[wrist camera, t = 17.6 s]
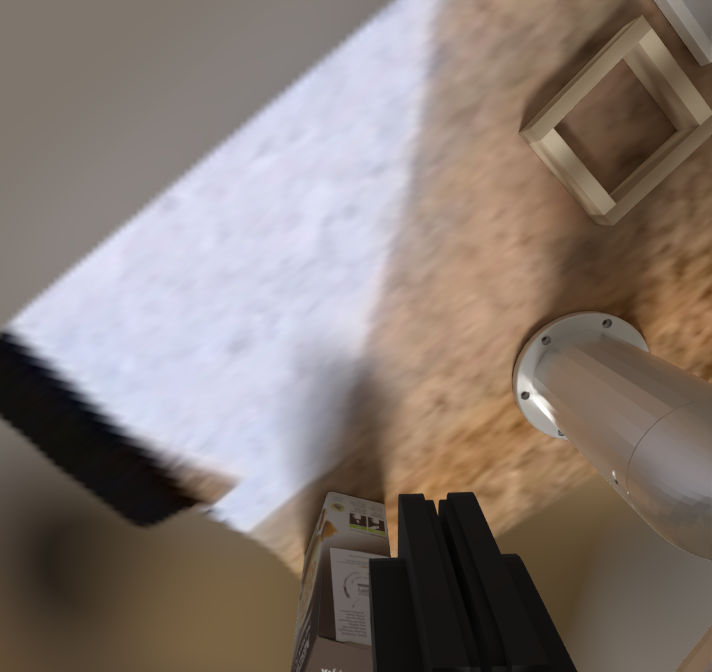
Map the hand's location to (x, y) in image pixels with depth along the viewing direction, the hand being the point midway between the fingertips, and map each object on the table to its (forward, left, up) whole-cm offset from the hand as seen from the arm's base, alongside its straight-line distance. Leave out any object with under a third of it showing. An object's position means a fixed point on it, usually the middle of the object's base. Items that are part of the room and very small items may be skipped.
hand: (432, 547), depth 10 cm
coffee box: (-16, +20, -31) cm, 40 cm away
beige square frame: (-5, -23, -31) cm, 39 cm away
